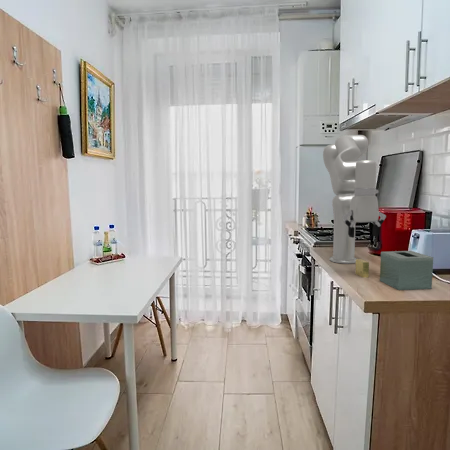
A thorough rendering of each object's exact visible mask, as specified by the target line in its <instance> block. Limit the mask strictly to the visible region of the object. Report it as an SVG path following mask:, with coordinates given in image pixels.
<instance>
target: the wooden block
mask: <svg viewBox="0 0 450 450" xmlns="http://www.w3.org/2000/svg"><path fill="white" fill-rule="evenodd" d="M369 271H370V262H369V261H367V260H366V259H365V260H364V259H362V258H357V259H356V263H355V275H357V276H359V277H360V278H365V279H367V278H369V276H370V275H369V273H370V272H369Z"/></svg>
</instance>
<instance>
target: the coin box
mask: <svg viewBox="0 0 450 450" xmlns="http://www.w3.org/2000/svg"><path fill="white" fill-rule="evenodd" d="M379 263H380V264H379V265H380V266H379V281H380V282H382V283H384V284H385V285H387V286H390V287H392V288H393V289H395V290H397V291H405V290H406V291H408V290H409V291H411V290H414V291H415V290H432V286H433V272H434V271H433V270H434V269H433V268H434V257H433V256H430V255H427V254H423V253H421V252H417V251H412V250H398V251H397V250H395V251H393V250H392V251H381V252H380V262H379Z"/></svg>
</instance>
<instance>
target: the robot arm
mask: <svg viewBox="0 0 450 450" xmlns="http://www.w3.org/2000/svg"><path fill="white" fill-rule="evenodd" d="M368 149H369V139H368V137H367V136H365V135H363V134H344V135H340V136H339V137H337V138H336V140H335V142H334V143H330V144H328V145H326V146H325V147H324V148H323V152H322V158H323V163H324V166H325V168H326V170H327V171H328V174H329V176H330V177H329V179H330V182H331V187H332V192H333V193H334V197H333V198H332V201H331V203H332V204H331V205H332V212H333V241H332V243H333V246H332V247H333V249H332V250H333V251H332V256H330V257H329V261H330V262H333V263H337V264H348V265H349V264H356V259H358V258H357V257H355V250H356V249H355V248H356V247H355V246H356V244H355V243H356V224H357V223H372V224H373V226H372V233H371V234H372V237H375V238H378V237H379V235H380V227H381V226H382V224H383V223H384V221H385V219H386V218H387V215H386V214H384V213H383V212H381V211H379V200H378V197H377V196H376V195H377V194H379V189H377V162H376V161H375V160H373V159H372V160H370V159H369V160H368V159H367V160H360V159H361V157H363V156H364V155H365V154H366V153H367V151H368ZM379 217H380V218H379Z"/></svg>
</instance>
